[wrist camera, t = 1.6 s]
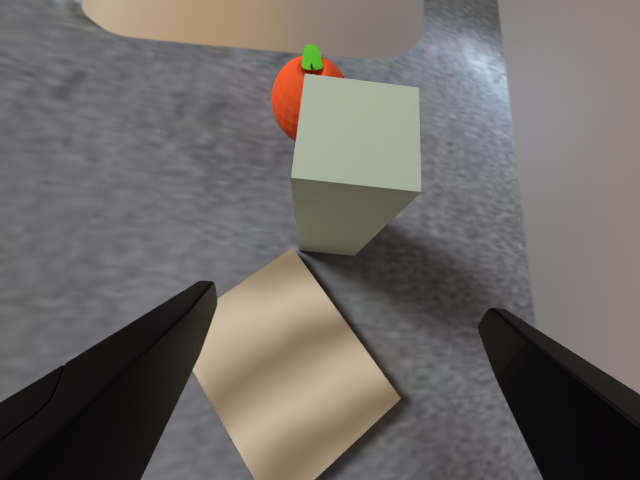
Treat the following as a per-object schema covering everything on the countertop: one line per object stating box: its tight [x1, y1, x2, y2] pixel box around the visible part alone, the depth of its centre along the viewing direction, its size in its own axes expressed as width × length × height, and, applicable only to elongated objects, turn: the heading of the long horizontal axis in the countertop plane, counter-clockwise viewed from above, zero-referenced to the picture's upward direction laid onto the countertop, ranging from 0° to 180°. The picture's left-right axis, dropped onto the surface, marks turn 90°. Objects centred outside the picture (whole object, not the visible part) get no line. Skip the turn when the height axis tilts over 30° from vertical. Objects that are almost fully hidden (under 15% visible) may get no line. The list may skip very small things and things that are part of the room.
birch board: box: [193, 248, 401, 480], centre depth 18 cm, size 14×11×2 cm
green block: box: [291, 74, 421, 256], centre depth 16 cm, size 5×5×13 cm
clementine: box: [272, 45, 344, 141], centre depth 22 cm, size 8×7×7 cm
